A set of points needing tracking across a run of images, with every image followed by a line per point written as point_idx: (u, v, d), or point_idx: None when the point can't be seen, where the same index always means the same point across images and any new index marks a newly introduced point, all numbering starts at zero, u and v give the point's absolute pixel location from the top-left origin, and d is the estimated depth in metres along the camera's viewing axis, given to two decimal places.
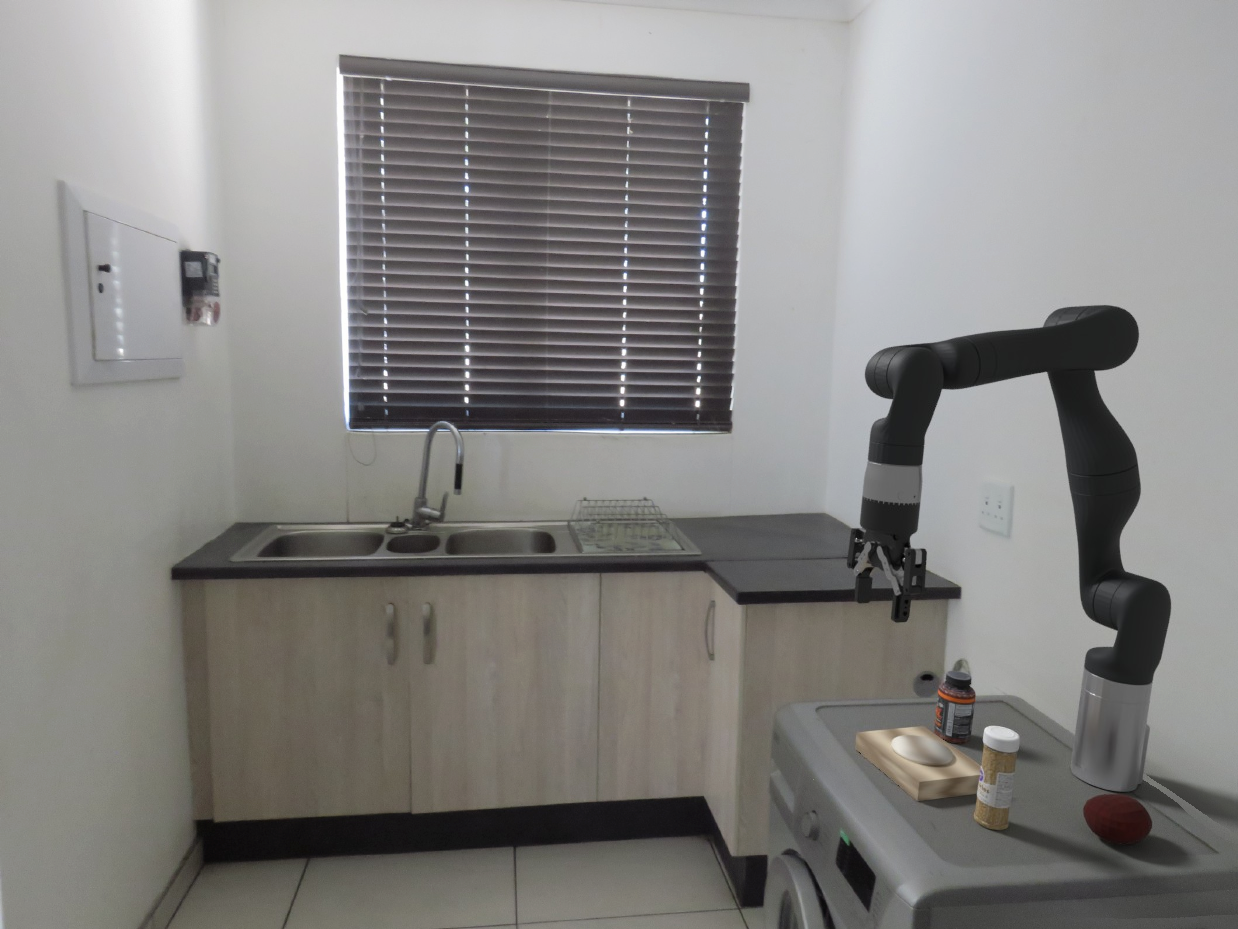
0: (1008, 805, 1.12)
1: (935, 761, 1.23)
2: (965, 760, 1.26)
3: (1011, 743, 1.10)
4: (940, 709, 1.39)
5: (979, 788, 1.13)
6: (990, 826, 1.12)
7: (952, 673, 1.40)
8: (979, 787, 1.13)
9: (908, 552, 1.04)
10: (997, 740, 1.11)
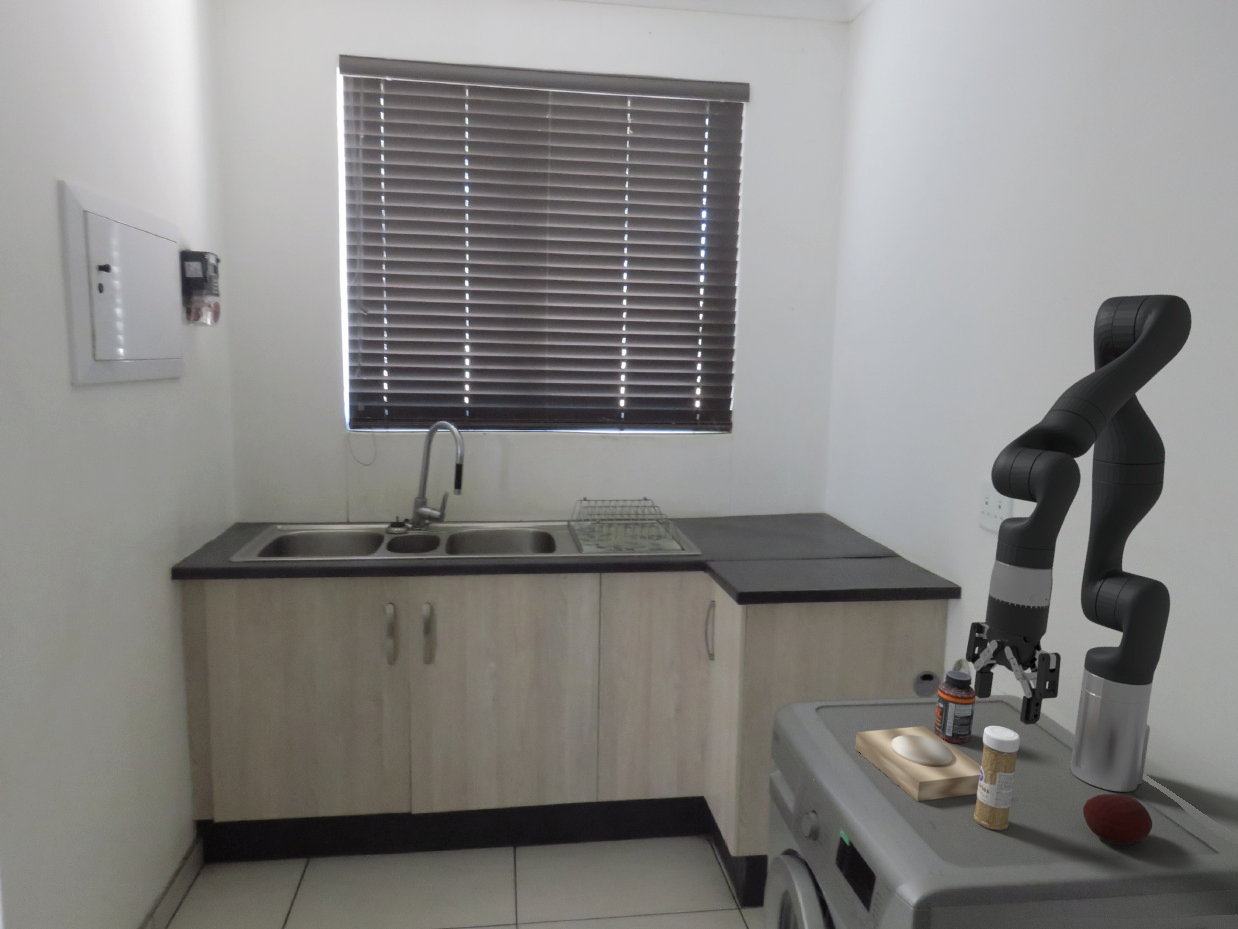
0: (1008, 805, 1.12)
1: (935, 761, 1.23)
2: (965, 760, 1.26)
3: (1011, 743, 1.10)
4: (940, 709, 1.39)
5: (979, 788, 1.13)
6: (990, 826, 1.12)
7: (952, 673, 1.40)
8: (979, 787, 1.13)
9: (1042, 657, 1.04)
10: (997, 740, 1.11)
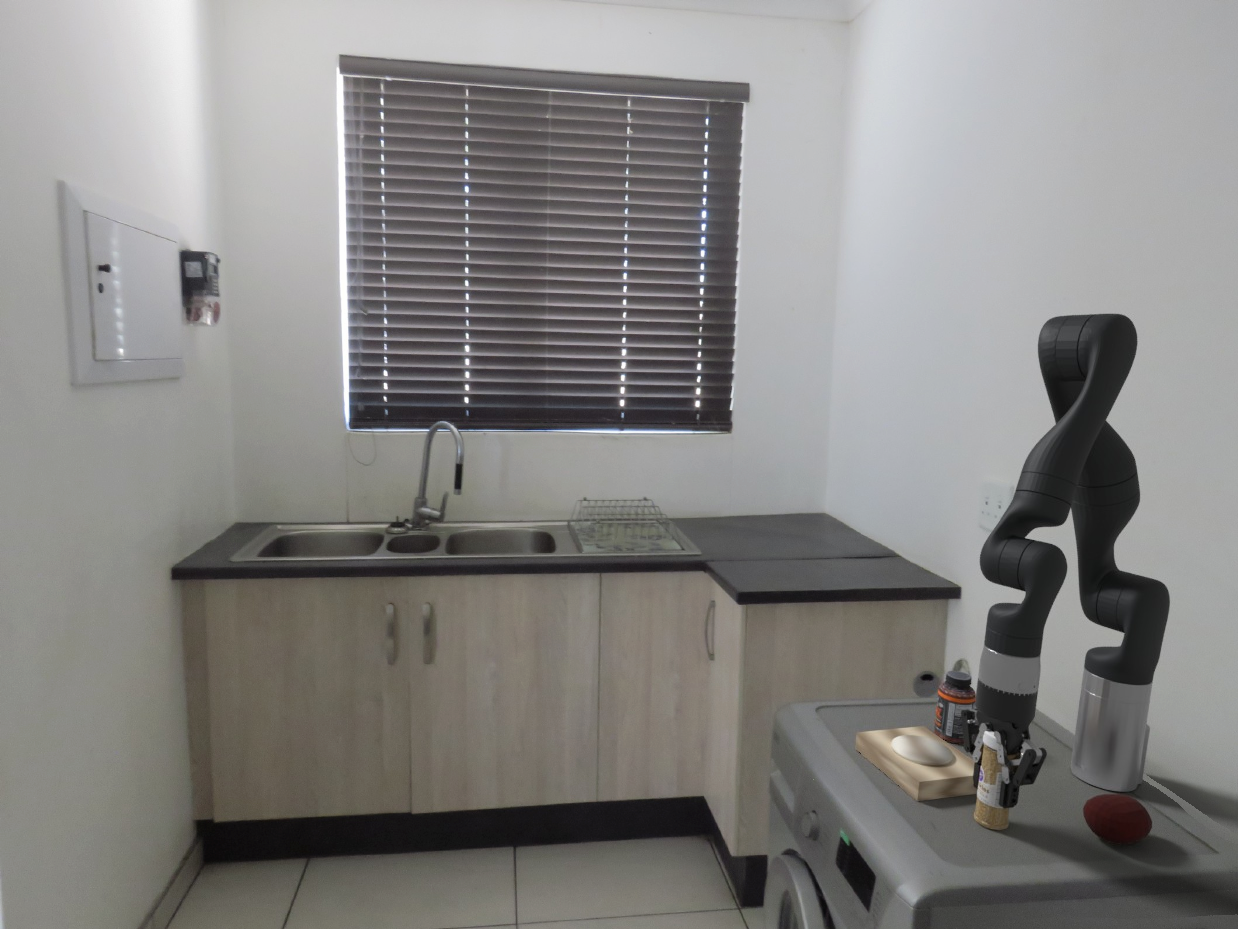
0: None
1: (935, 761, 1.23)
2: (965, 760, 1.26)
3: None
4: (940, 708, 1.39)
5: (979, 788, 1.13)
6: (990, 826, 1.12)
7: (952, 673, 1.40)
8: (979, 787, 1.13)
9: (1029, 754, 1.06)
10: None
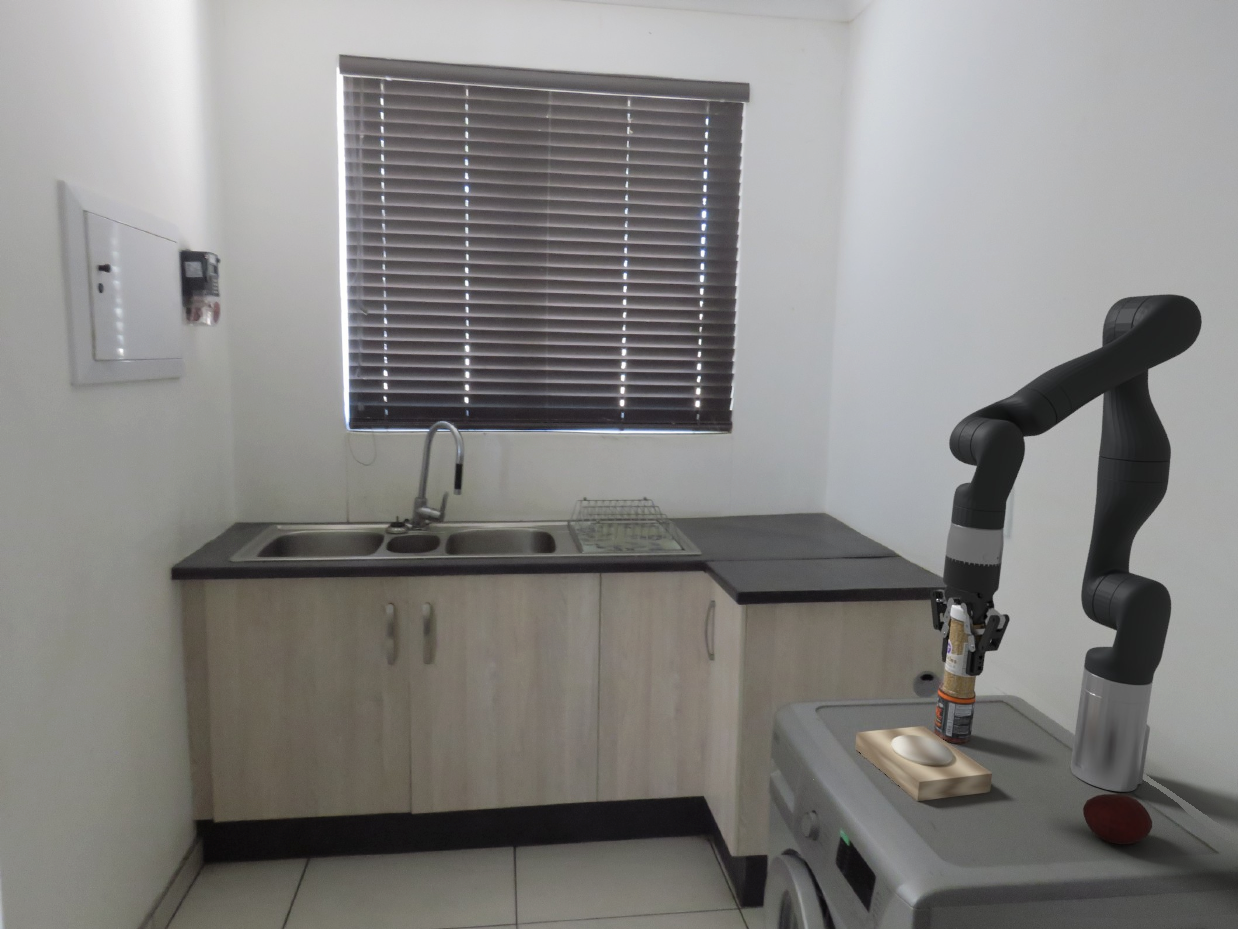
0: None
1: (935, 761, 1.23)
2: (965, 760, 1.26)
3: None
4: (940, 709, 1.39)
5: (947, 660, 1.20)
6: (957, 694, 1.18)
7: None
8: (947, 659, 1.20)
9: (993, 619, 1.12)
10: None
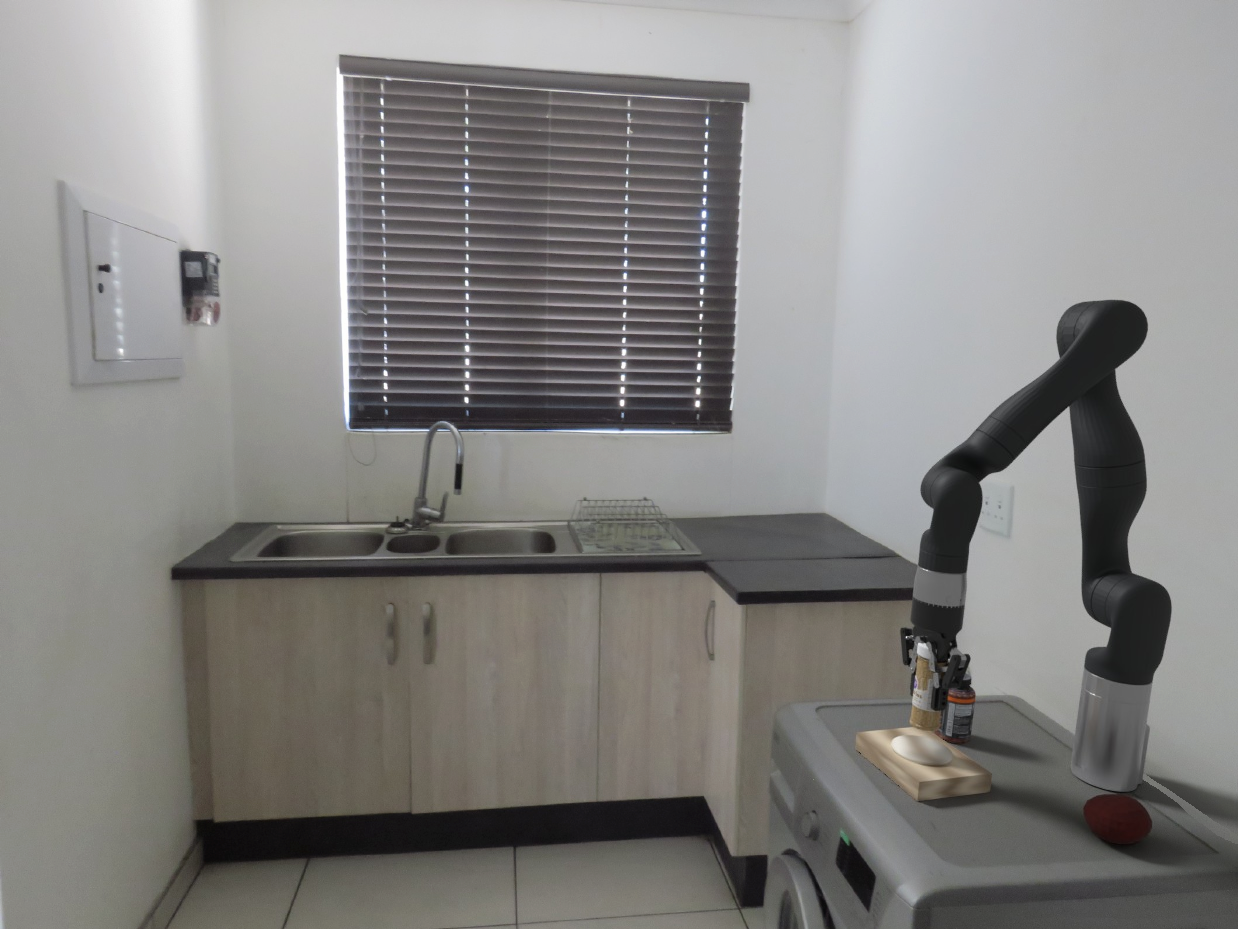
0: None
1: (935, 761, 1.23)
2: (965, 760, 1.26)
3: None
4: None
5: (914, 695, 1.26)
6: (923, 728, 1.25)
7: None
8: (914, 694, 1.26)
9: (954, 658, 1.19)
10: (928, 649, 1.24)
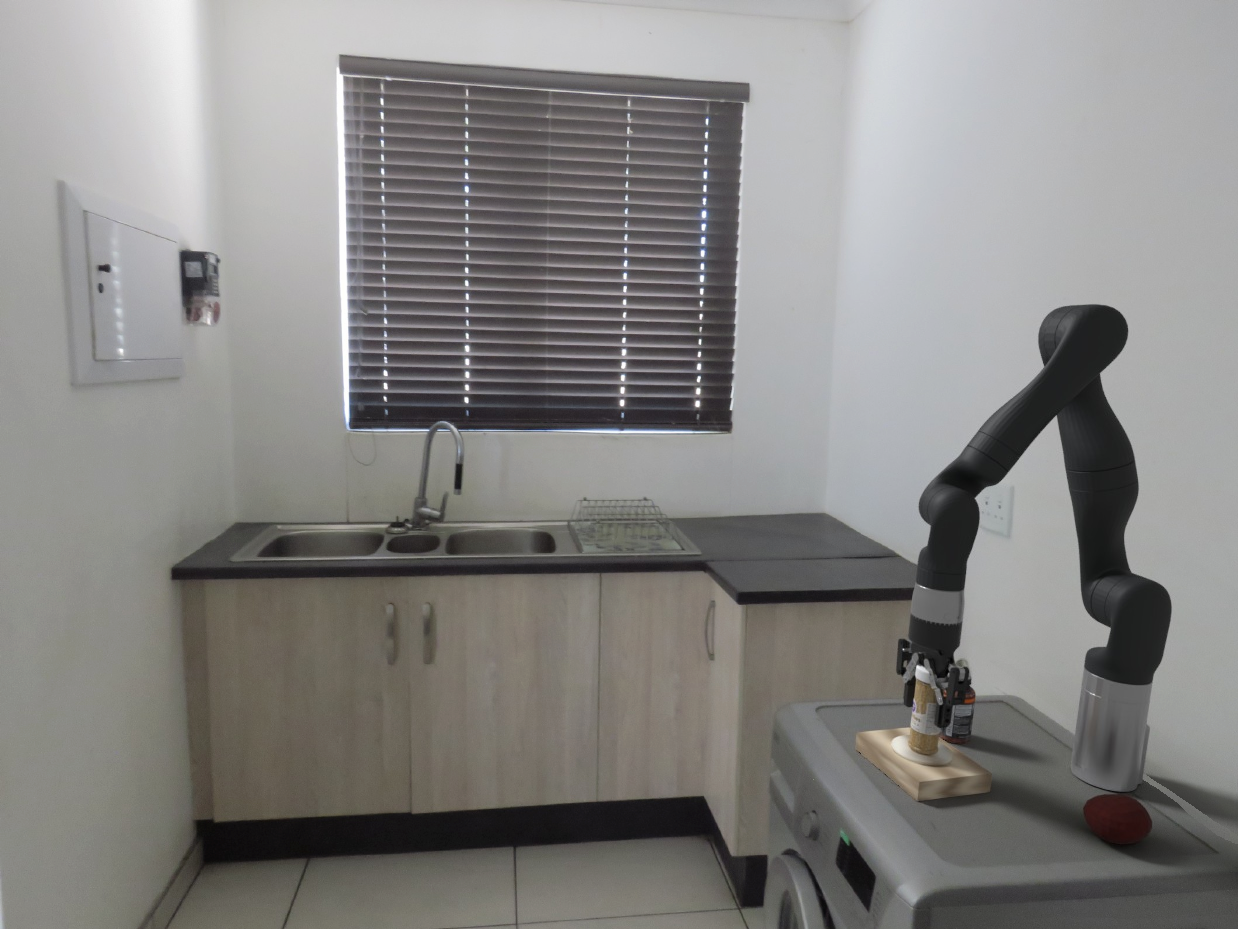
0: (937, 732, 1.25)
1: (935, 761, 1.23)
2: (965, 760, 1.26)
3: None
4: None
5: (912, 718, 1.27)
6: (921, 751, 1.25)
7: None
8: (912, 717, 1.27)
9: (953, 671, 1.19)
10: (927, 673, 1.24)
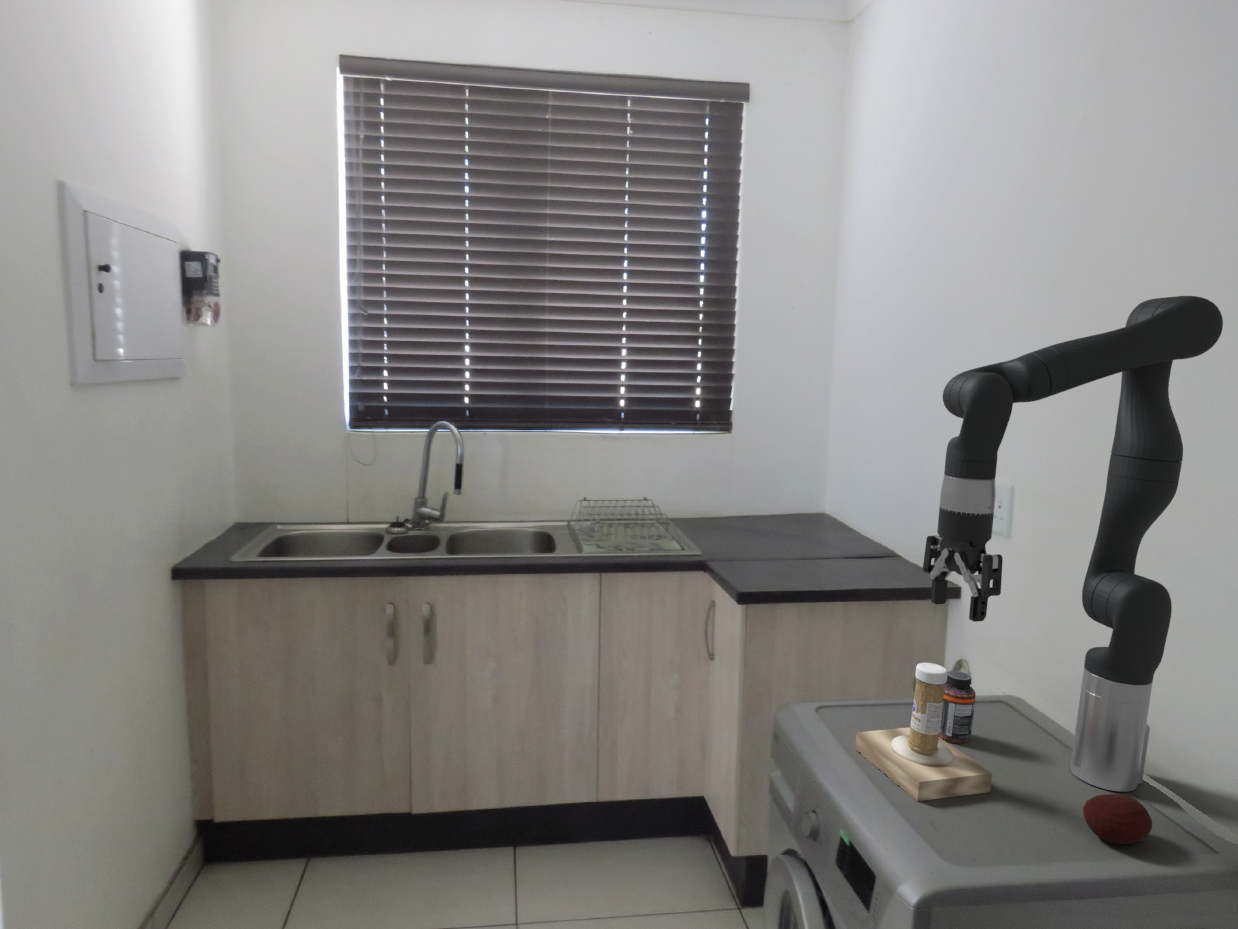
0: (937, 732, 1.25)
1: (935, 761, 1.23)
2: (965, 760, 1.26)
3: (939, 676, 1.23)
4: None
5: (912, 718, 1.27)
6: (921, 751, 1.25)
7: (952, 673, 1.40)
8: (912, 717, 1.27)
9: (986, 558, 1.15)
10: (927, 673, 1.24)
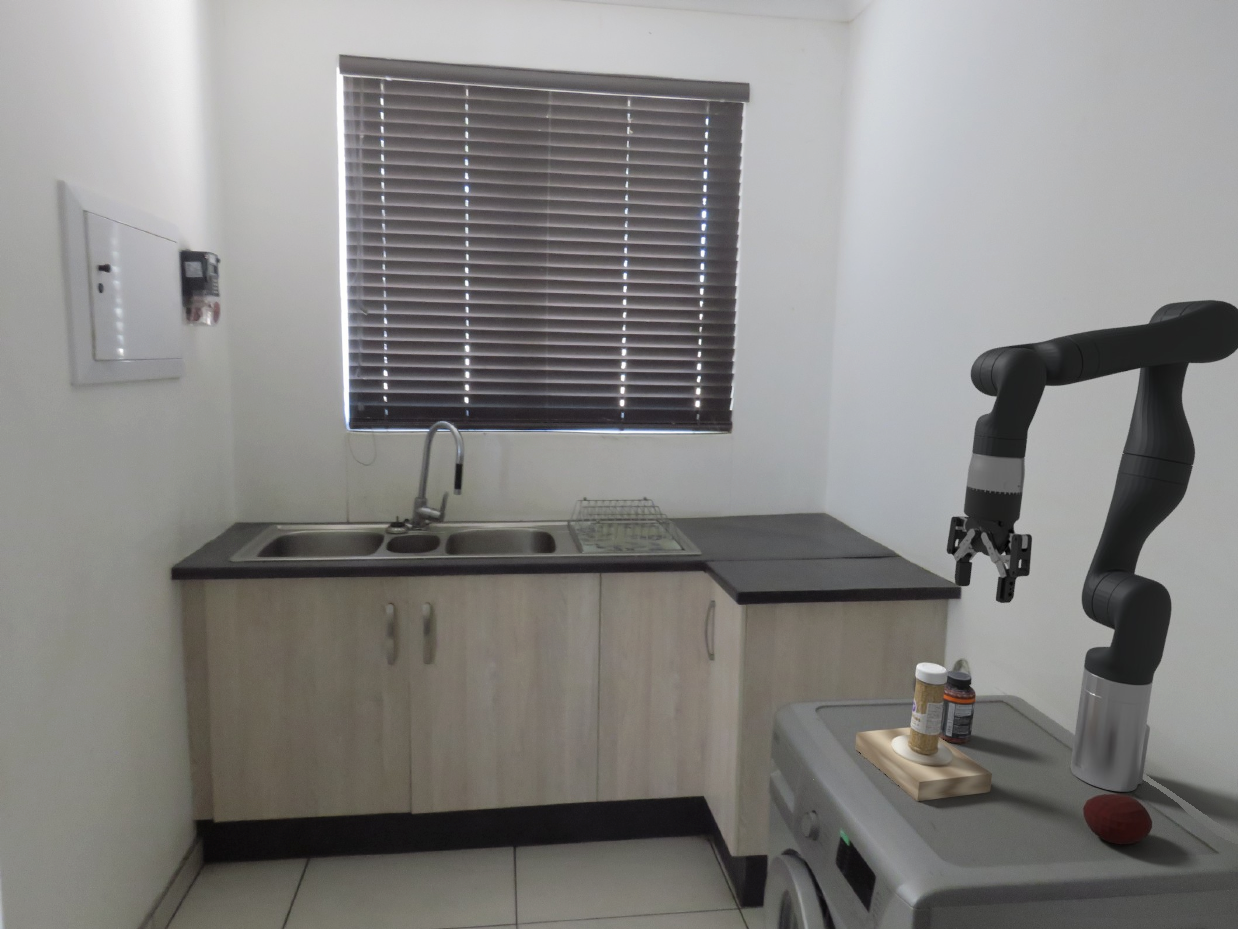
0: (937, 732, 1.25)
1: (935, 761, 1.23)
2: (965, 760, 1.26)
3: (939, 676, 1.23)
4: None
5: (912, 718, 1.27)
6: (921, 751, 1.25)
7: (952, 673, 1.40)
8: (912, 717, 1.27)
9: (1015, 537, 1.13)
10: (927, 673, 1.24)
